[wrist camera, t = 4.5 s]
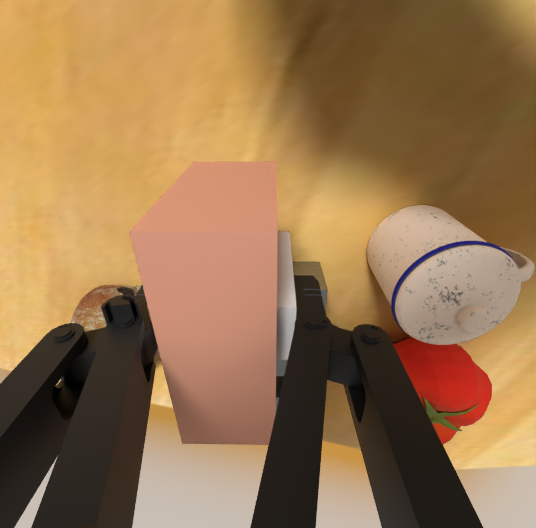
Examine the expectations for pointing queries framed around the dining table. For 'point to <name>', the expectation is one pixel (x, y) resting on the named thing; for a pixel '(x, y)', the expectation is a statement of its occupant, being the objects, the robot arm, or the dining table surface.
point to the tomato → (446, 384)
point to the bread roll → (91, 304)
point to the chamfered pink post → (215, 298)
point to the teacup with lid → (443, 275)
